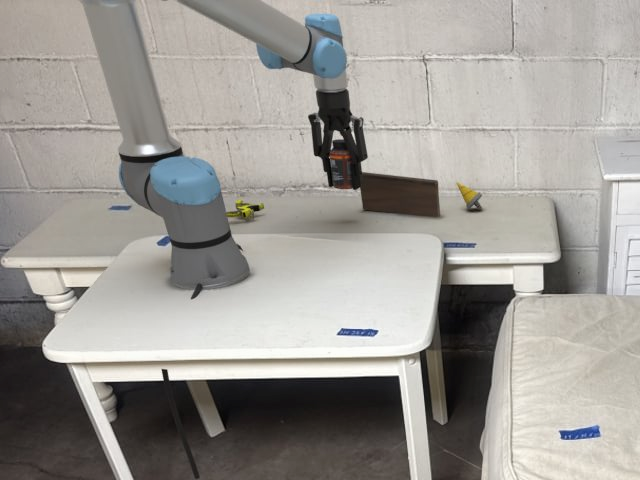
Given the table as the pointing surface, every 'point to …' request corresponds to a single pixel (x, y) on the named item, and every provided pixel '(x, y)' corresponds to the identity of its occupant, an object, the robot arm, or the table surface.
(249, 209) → the yellow black clamp
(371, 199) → the wooden wall
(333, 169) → the supplement bottle
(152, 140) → the robot arm
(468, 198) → the yellow spinning top
